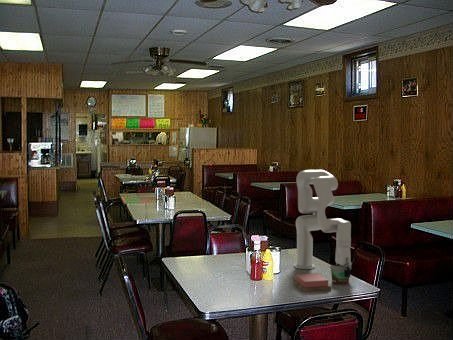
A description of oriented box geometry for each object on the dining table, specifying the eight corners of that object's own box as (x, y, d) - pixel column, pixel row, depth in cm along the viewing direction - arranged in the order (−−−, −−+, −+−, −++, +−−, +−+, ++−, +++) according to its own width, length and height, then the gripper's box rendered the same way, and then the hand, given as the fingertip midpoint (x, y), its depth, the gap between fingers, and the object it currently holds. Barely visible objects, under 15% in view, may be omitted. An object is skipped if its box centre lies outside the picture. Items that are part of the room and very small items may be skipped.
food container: (334, 285, 261) (335, 267, 260) (329, 282, 266) (329, 264, 266) (355, 284, 264) (355, 266, 263) (349, 280, 270) (350, 263, 269)
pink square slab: (295, 280, 263) (295, 274, 262) (317, 278, 266) (317, 273, 265) (304, 287, 250) (304, 281, 250) (328, 285, 253) (328, 280, 253)
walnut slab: (293, 285, 264) (293, 279, 264) (319, 283, 267) (319, 278, 267) (303, 293, 249) (303, 287, 249) (330, 291, 253) (331, 286, 252)
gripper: (330, 240, 271) (330, 271, 272) (344, 247, 254) (343, 279, 255) (342, 240, 273) (342, 270, 274) (357, 246, 256) (357, 278, 257)
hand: (343, 274), depth 264 cm, fingers open, 9 cm apart
